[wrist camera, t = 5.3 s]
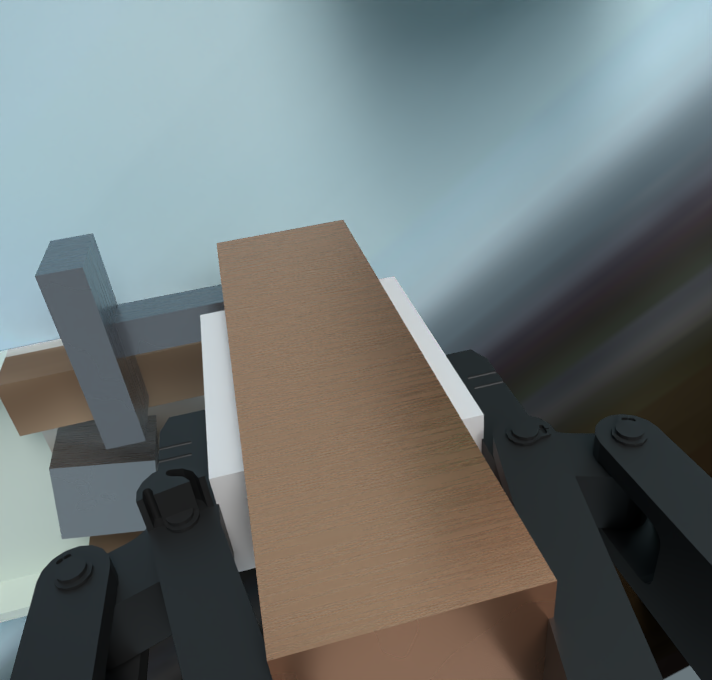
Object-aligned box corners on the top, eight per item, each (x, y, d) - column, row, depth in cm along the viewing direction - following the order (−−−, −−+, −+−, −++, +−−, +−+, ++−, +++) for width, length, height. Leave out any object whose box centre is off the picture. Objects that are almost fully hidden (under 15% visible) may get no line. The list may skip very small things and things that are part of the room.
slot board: (368, 488, 36) (380, 524, 34) (107, 554, 34) (103, 597, 31) (342, 281, 28) (356, 309, 26) (8, 349, 26) (-6, 386, 24)
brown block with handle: (358, 350, 23) (539, 760, 12) (113, 404, 22) (36, 919, 10) (339, 189, 20) (562, 530, 8) (50, 241, 19) (-164, 723, 7)
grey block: (160, 481, 31) (159, 528, 29) (70, 489, 30) (61, 539, 28) (156, 415, 29) (155, 460, 27) (59, 421, 28) (48, 468, 26)
